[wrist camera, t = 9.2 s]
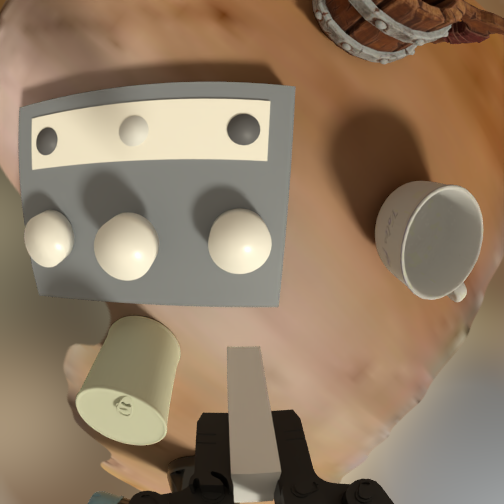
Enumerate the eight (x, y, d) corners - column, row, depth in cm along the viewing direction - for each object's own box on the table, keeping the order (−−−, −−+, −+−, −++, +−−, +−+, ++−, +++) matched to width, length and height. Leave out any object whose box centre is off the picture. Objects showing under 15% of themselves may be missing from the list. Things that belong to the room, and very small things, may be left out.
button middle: (161, 271, 24) (155, 281, 22) (107, 269, 24) (98, 279, 22) (157, 212, 22) (151, 218, 21) (100, 212, 22) (90, 219, 20)
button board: (274, 292, 31) (278, 308, 28) (51, 283, 29) (38, 296, 26) (288, 92, 24) (296, 86, 21) (35, 108, 22) (18, 107, 19)
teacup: (349, 198, 28) (387, 219, 21) (428, 158, 27) (477, 168, 20) (385, 302, 33) (417, 341, 26) (451, 261, 32) (490, 289, 25)
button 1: (266, 264, 27) (269, 274, 25) (209, 263, 26) (208, 273, 24) (270, 209, 25) (273, 215, 23) (209, 207, 24) (208, 213, 23)
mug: (305, -43, 18) (387, -111, 5) (411, 9, 22) (507, -12, 9) (290, 41, 22) (392, -18, 9) (405, 88, 26) (518, 89, 13)
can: (191, 335, 33) (180, 417, 21) (167, 383, 35) (153, 458, 24) (117, 302, 31) (76, 375, 19) (102, 355, 33) (70, 425, 22)
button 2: (77, 260, 25) (68, 268, 23) (39, 258, 25) (29, 266, 23) (71, 208, 23) (60, 214, 21) (31, 210, 23) (20, 216, 21)
